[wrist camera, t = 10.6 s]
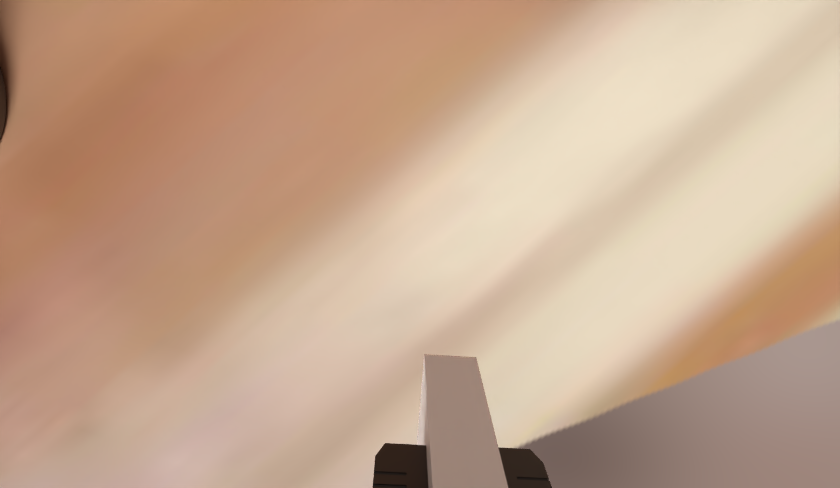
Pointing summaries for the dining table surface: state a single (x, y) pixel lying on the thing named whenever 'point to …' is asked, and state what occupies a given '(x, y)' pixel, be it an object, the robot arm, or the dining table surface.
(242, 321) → the dining table surface
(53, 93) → the dining table surface
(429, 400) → the robot arm
